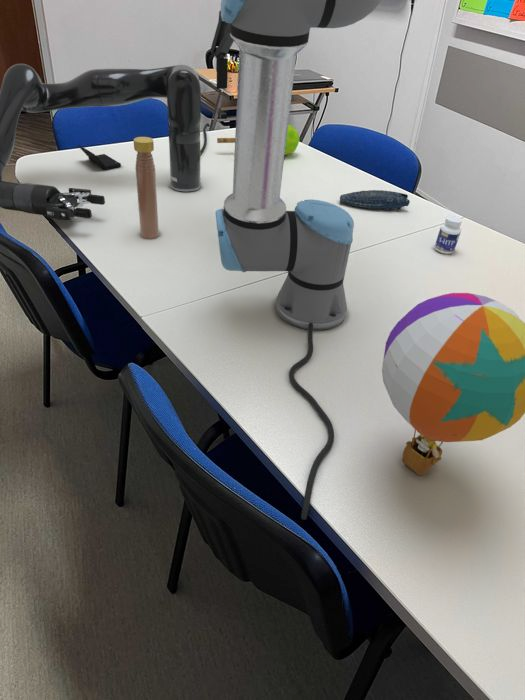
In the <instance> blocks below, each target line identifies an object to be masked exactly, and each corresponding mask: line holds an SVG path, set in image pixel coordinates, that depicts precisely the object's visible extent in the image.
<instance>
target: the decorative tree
mask: <svg viewBox="0 0 525 700" xmlns="http://www.w3.org/2000/svg"><path fill="white" fill-rule="evenodd" d="M216 142H217V144H235V137H217V138H216ZM299 143H300V134H299V131H298V130H296V129H295V127H294V126H293V125H291V124H288V130H287V138H286V147H285V155H284V156H289V155H290V154H292V153H295V151H296V150H297V148H298V145H299Z"/></svg>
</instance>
